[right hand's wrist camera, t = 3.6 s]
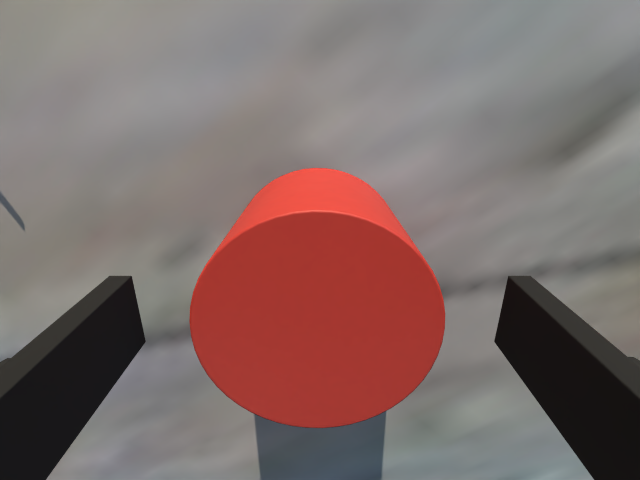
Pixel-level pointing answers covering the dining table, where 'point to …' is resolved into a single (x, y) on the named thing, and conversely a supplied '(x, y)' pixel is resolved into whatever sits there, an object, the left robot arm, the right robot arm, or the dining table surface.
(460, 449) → the dining table surface
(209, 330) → the canister
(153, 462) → the dining table surface
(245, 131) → the dining table surface
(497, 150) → the dining table surface
